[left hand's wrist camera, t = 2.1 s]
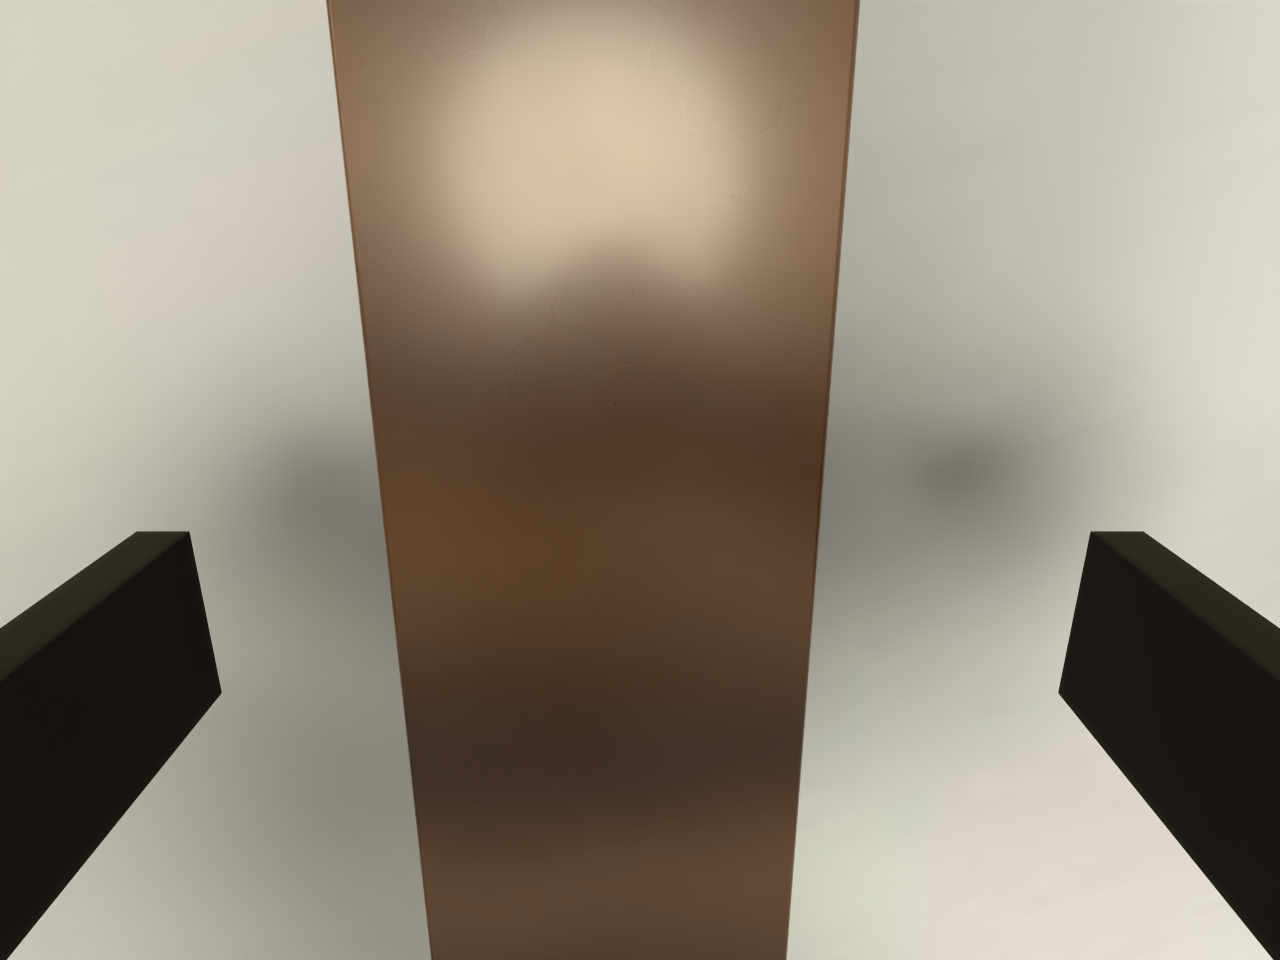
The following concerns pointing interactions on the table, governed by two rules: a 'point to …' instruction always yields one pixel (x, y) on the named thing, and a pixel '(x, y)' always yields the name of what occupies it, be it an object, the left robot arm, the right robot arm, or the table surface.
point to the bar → (600, 447)
